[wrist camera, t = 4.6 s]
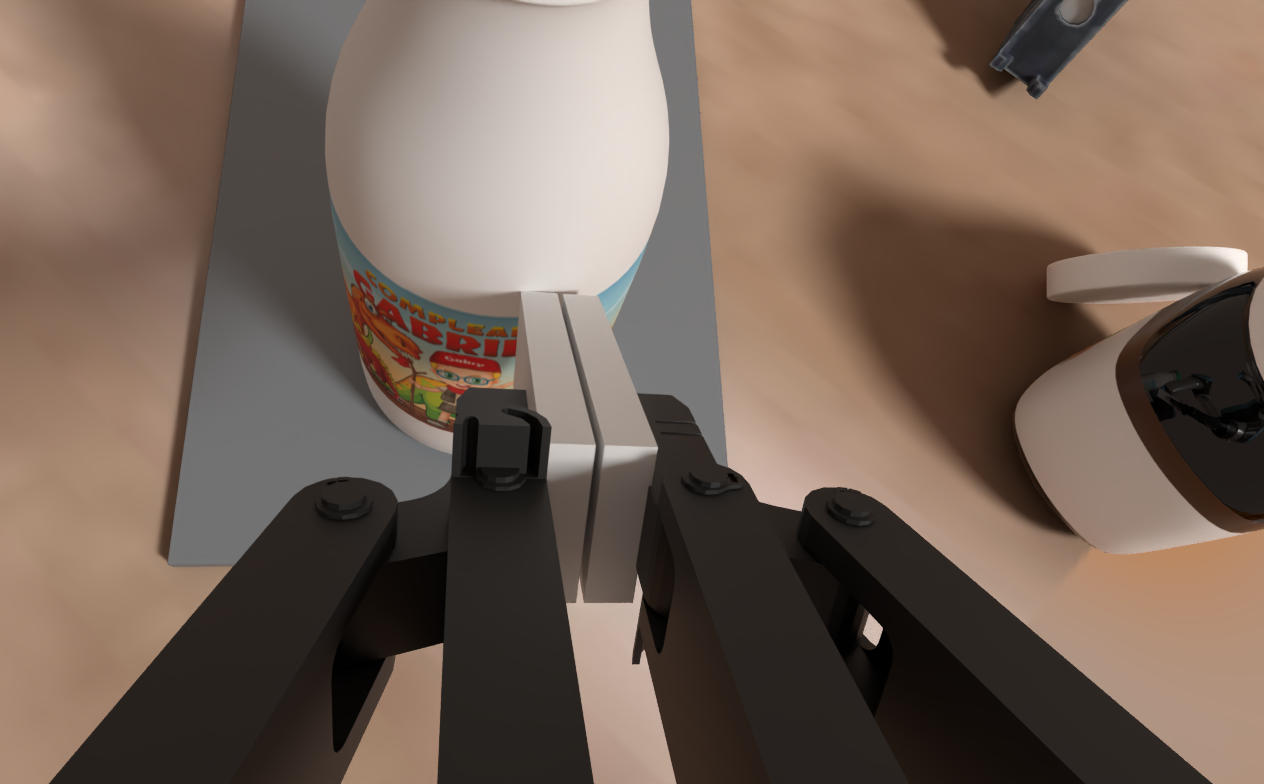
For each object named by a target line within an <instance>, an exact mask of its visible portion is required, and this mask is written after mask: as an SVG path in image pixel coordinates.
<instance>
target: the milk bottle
mask: <svg viewBox="0 0 1264 784" xmlns="http://www.w3.org/2000/svg"><path fill="white" fill-rule="evenodd" d="M668 154H669V122H668V109H667V101H666V96H665V90H664V85H663V80H662V76H661V72H660V68H659V64H658V60H657V56H656V52H655V48H654V43H653V38H652V32H651V25H650V14H649V0H367V1H366V3H365V4H364V6H363V8H362V9H361V11H360V13H359V15H358V16H357V18H356V20H355V22H354V24H353V26H352V28H351V30H350V32H349V34H348V36H347V38H346V40H345V42H344V45H343V47H342V49H341V52H340V55H339V59H338V62H337V65H336V68H335V71H334V74H333V77H332V82H331V87H330V93H329V99H328V105H327V111H326V127H325V160H326V170H327V178H328V186H329V194H330V202H331V210H332V217H333V222H334V227H335V233H336V238H337V244H338V249H339V254H340V260H341V265H342V271H343V276H344V281H345V286H346V291H347V296H348V301H349V306H350V311H351V315H352V320H353V325H354V330H355V335H356V340H357V345H358V349H359V354H360V359H361V364H362V367H363V370H364V374H365V377H366V380H367V383H368V386H369V388H370V391H371V393H372V395H373V397H374V399H375V400H376V402H377V404H378V405H379V407H380V408H381V410H382V411H383V412H384V414H385V415H386V416H387V417H388V418H389V419H390V420H391V421H392V422H393V423H394V424H395V425H396V426H397V427H398V428H399V429H400V430H402V431H403V432H404V433H406V434H407V435H408V436H410V437H411V438H413V439H415V440H416V441H418V442H420V443H422V444H424V445H426V446H428V447H430V448H433V449H436V450H439V451H441V452H445V453H449V454H452V446H453V424H454V422H455V417H456V400H457V398H458V397H460V396H461V395H462V394H463V393H464V392H465V391H466V390H467V389H468V388H469V387H478V388H498V389H513V383H514V370H515V357H516V345H517V332H518V319H519V306H520V293H521V291H532V292H546V293H557V295H558V299H559V303H560V307H561V308H562V298H563V294H574V295H587V296H599V299H600V301H601V304H602V306H603V309H604V311H605V314H606V316H607V319H608V321H609V324H610V327H611V329H612V327H613V325H614V322H615V320H616V318H617V316H618V313H619V311H620V309H621V306H622V304H623V302H624V299H625V297H626V295H627V292H628V290H629V288H630V285H631V283H632V281H633V278H634V276H635V274H636V271H637V269H638V267H639V264H640V262H641V259H642V256H643V254H644V251H645V248H646V245H647V243H648V240H649V237H650V234H651V232H652V229H653V226H654V223H655V221H656V218H657V215H658V212H659V208H660V204H661V199H662V195H663V190H664V185H665V180H666V176H667V167H668Z"/></svg>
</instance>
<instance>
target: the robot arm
mask: <svg viewBox="0 0 1264 784" xmlns="http://www.w3.org/2000/svg"><path fill="white" fill-rule="evenodd" d="M637 573H638V577H639V580H640V584H641V588H642V591H643V595H642V601H641V607H640V613H639V619H638V625H637V631H636V637H635V643H634V649H633V657H632V664H640V658H641V652H642V651H643V650H644V649H645V652H646V657H647V661H648V665H649V669H650V674H651V678H652V682H653V686H654V690H655V695H656V699H657V703H658V707H659V711H660V716H661V720H662V724H663V728H664V733H665V737H666V741H667V745H668V749H669V754H670V758H671V762H672V766H673V771H674V775H675V779H676V783H677V784H1212V783H1211V782H1210V781H1208V779H1206V778H1205V777H1204V776H1203V775H1202V774H1200V773H1199V772H1198V771H1197V770H1196V769H1195V768H1193V767H1192V766H1191V765H1190V764H1189V763H1188V762H1186V761H1185V760H1184V759H1183V758H1182V757H1180V756H1179V755H1178V754H1177V753H1176V752H1175V751H1173V750H1172V749H1171V748H1170V747H1169V746H1167V745H1166V744H1165V743H1164V742H1163V741H1162V740H1160V739H1159V738H1158V737H1157V736H1156V735H1154V734H1153V733H1152V732H1151V731H1150V730H1149V729H1148V728H1146V727H1145V726H1144V725H1143V724H1142V723H1140V722H1139V721H1138V720H1137V719H1136V718H1135V717H1133V716H1132V715H1131V714H1130V713H1129V712H1128V711H1126V710H1125V709H1124V708H1123V707H1122V706H1120V705H1119V704H1118V703H1117V702H1116V701H1115V700H1113V699H1112V698H1111V697H1110V696H1109V695H1108V694H1106V693H1105V692H1104V691H1103V690H1102V689H1100V688H1099V687H1098V686H1097V685H1096V684H1095V683H1093V682H1092V681H1091V680H1090V679H1089V678H1087V677H1086V676H1085V675H1084V674H1083V673H1082V672H1080V671H1079V670H1078V669H1077V668H1076V667H1075V666H1073V665H1072V664H1071V663H1070V662H1069V661H1067V660H1066V659H1065V658H1064V657H1063V656H1062V655H1060V654H1059V653H1058V652H1057V651H1056V650H1055V649H1053V648H1052V647H1051V646H1050V645H1049V644H1047V643H1046V642H1045V641H1044V640H1043V639H1042V638H1040V637H1039V636H1038V635H1037V634H1035V632H1033V631H1032V630H1031V629H1030V628H1029V627H1028V626H1026V625H1025V624H1024V623H1023V622H1022V621H1020V620H1019V619H1018V618H1017V617H1016V616H1015V615H1013V614H1012V613H1011V612H1010V611H1009V610H1008V609H1006V608H1005V607H1004V606H1003V605H1002V604H1000V603H999V602H998V601H997V600H996V599H995V598H993V597H992V596H991V595H990V594H989V593H988V592H986V591H985V590H984V589H983V588H982V587H980V586H979V585H978V584H977V583H976V582H975V581H973V580H972V579H971V578H970V577H969V576H968V575H966V574H965V573H964V572H963V571H962V570H960V569H959V568H958V567H957V566H956V565H955V564H953V563H952V562H951V561H950V560H949V559H948V558H946V557H945V556H944V555H943V554H942V553H940V552H939V551H938V550H937V549H936V548H935V547H933V546H932V545H931V544H930V543H929V542H928V541H926V540H925V539H924V538H923V537H922V536H920V535H919V534H918V533H917V532H916V531H915V530H913V529H912V528H911V527H910V526H909V525H908V524H906V523H905V522H904V521H903V520H902V519H900V518H899V517H898V516H897V515H896V514H895V513H893V512H892V511H891V510H890V509H889V508H888V507H886V506H885V505H883V504H882V503H880V502H879V501H877V500H876V499H874V498H872V497H870V496H867V495H865V494H862V493H861V492H860V491H857V490H853V489H847V488H843V487H837V488H825V487H824V488H820V489H817V490H813V491H811V492H810V493H809V494H808V495H807V496H806V497H805V500H804V504H803V508H802V512H801V511H796V510H791V509H787V508H782V507H777V506H772V505H769V504H765V503H761V502H759V501H758V499H757V498H756V496H755V494H754V492H753V490H752V488H751V486H750V484H749V483H748V482H747V481H746V480H745V479H744V478H743V476H742V475H740V474H739V473H737V472H735V471H733V470H732V469H730V468H728V467H725V466H722V465H719V464H717V463H716V461H715V459H714V457H713V455H712V453H711V451H710V449H709V447H708V445H707V443H706V441H705V439H704V437H703V436H702V433H701V431H700V429H699V427H698V425H696V421H695V419H694V417H693V415H692V413H691V411H690V409H689V408H688V407H687V406H686V405H684V404H683V403H682V402H680V401H679V400H678V399H676V398H675V397H674V396H672V395H663V394H643V393H636V390H635V388H634V385H633V382H632V380H631V377H630V375H629V372H628V370H627V367H626V365H625V362H624V360H623V357H622V354H621V352H620V349H619V347H618V344H617V342H616V339H615V337H614V334H613V332H612V329H611V327H610V324H609V321H608V319H607V316H606V314H605V311H604V309H603V306H602V304H601V301H600V299H599V296H587V295H574V294H563V298H562V308H561V307H560V303H559V299H558V295H557V293H546V292H532V291H521V293H520V306H519V319H518V332H517V345H516V357H515V370H514V383H513V389H498V388H478V387H469V388H468V389H467V390H466V391H465V392H464V393H463V394H462V395H461V396H460V397H458V398H457V400H456V417H455V422H454V424H453V446H452V468H451V477H450V479H449V481H448V482H447V483H446V484H445V485H444V486H443V487H442V488H440V489H439V490H437V491H436V492H434V493H432V494H429V495H427V496H424V497H421V498H417V499H413V500H408V501H402V502H398V500H397V498H396V496H395V494H394V492H393V491H392V490H391V489H390V488H388V487H386V486H385V485H383V484H382V483H380V482H376V481H373V480H369V479H365V478H354V477H337V478H330V479H325V480H322V481H319V482H316V483H314V484H311V485H308V486H306V487H304V488H303V489H302V490H300V491H299V492H298V493H296V494H295V495H294V496H293V497H292V498H291V499H290V500H289V501H288V502H287V504H286V505H285V506H284V507H283V508H282V510H281V511H280V512H279V513H278V514H277V515H276V517H275V518H274V519H273V520H272V521H271V523H270V524H269V525H268V526H267V527H266V528H265V530H264V531H263V532H262V533H261V534H260V535H259V537H258V538H257V539H256V540H255V541H254V543H253V544H252V545H251V546H250V547H249V548H248V550H247V551H246V552H245V553H244V554H243V556H242V557H241V558H240V559H239V560H238V561H237V563H236V564H235V565H234V566H233V567H232V568H231V570H230V571H229V572H228V573H227V574H226V576H225V577H224V578H223V579H222V580H221V581H220V583H219V584H218V585H217V586H216V587H215V589H214V590H213V591H212V592H211V593H210V594H209V596H208V597H207V598H206V599H205V600H204V601H203V603H202V604H201V605H200V606H199V607H198V609H197V610H196V611H195V612H194V613H193V614H192V616H191V617H190V618H189V619H188V620H187V622H186V623H185V624H184V625H183V626H182V627H181V629H180V630H179V631H178V632H177V633H176V634H175V636H174V637H173V638H172V639H171V640H170V642H169V643H168V644H167V645H166V646H165V647H164V649H163V650H162V651H161V652H160V653H159V655H158V656H157V657H156V658H155V659H154V660H153V662H152V663H151V664H150V665H149V666H148V667H147V669H146V670H145V671H144V672H143V673H142V675H141V676H140V677H139V678H138V679H137V680H136V682H135V683H134V684H133V685H132V686H131V688H130V689H129V690H128V691H127V692H126V693H125V695H124V696H123V697H122V698H121V699H120V700H119V702H118V703H117V704H116V705H115V706H114V708H113V709H112V710H111V711H110V712H109V713H108V715H107V716H106V717H105V718H104V719H103V721H102V722H101V723H100V724H99V725H98V726H97V728H96V729H95V730H94V731H93V732H92V734H91V735H90V736H89V737H88V738H87V739H86V741H85V742H84V743H83V744H82V745H81V746H80V748H79V749H78V750H77V751H76V752H75V754H74V755H73V756H72V757H71V758H70V759H69V761H68V762H67V763H66V764H65V765H64V767H63V768H62V769H61V770H60V771H59V772H58V774H57V775H56V776H55V777H54V778H53V779H52V781H51V782H50V783H49V784H341V782H342V780H343V777H344V775H345V773H346V771H347V769H348V767H349V764H350V762H351V760H352V758H353V756H354V754H355V751H356V749H357V747H358V745H359V743H360V741H361V738H362V736H363V734H364V732H365V730H366V728H367V725H368V723H369V721H370V719H371V717H372V715H373V712H374V710H375V708H376V706H377V704H378V702H379V700H380V697H381V695H382V693H383V691H384V689H385V687H386V684H387V682H388V680H389V678H390V676H391V674H392V671H393V668H394V662H395V655H397V654H401V653H405V652H409V651H413V650H417V649H421V648H425V647H429V646H433V645H436V644H440V643H443V666H442V689H441V711H440V734H439V757H438V779H437V784H594V782H593V775H592V769H591V762H590V756H589V749H588V743H587V736H586V730H585V723H584V717H583V711H582V704H581V698H580V691H579V685H578V678H577V672H576V665H575V659H574V652H573V646H572V640H571V633H570V627H569V620H568V614H567V607H566V603H576V598H577V590H578V582H579V576H580V582H581V588H582V594H583V600H584V603H633V598H634V592H635V586H636V580H637ZM869 613H870V614H871V615H872V616H873V618H874V619H875V620H876V621H877V622H878V623H879V624H880V625H881V626H882V627H883V631H882V634H881V637H880V640H879V643H878V644H877V646H875V645H874V644H872V643H871V642H870V641H869V640H868V639H867V638H866V637H865V636H864V634H863V631H864V628H865V625H866V621H867V618H868V615H869Z"/></svg>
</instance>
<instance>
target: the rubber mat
mask: <svg viewBox="0 0 1264 784" xmlns="http://www.w3.org/2000/svg"><path fill="white" fill-rule="evenodd" d="M366 1H367V0H245V7H244V14H243V21H242V29H241V36H240V43H239V50H238V58H237V65H236V72H235V79H234V87H233V94H232V101H231V108H230V116H229V123H228V130H227V137H226V145H225V152H224V159H223V166H222V174H221V181H220V188H219V195H218V202H217V210H216V217H215V224H214V231H213V239H212V246H211V253H210V260H209V268H208V275H207V282H206V289H205V297H204V304H203V311H202V318H201V326H200V333H199V340H198V347H197V354H196V362H195V369H194V376H193V383H192V391H191V398H190V405H189V412H188V420H187V427H186V434H185V441H184V449H183V456H182V463H181V470H180V478H179V485H178V492H177V499H176V507H175V514H174V521H173V528H172V535H171V543H170V550H169V557H168V565H170V566H173V567H197V566H234V565H235V564H236V563H237V561H238V560H239V559H240V558H241V557H242V556H243V554H244V553H245V552H246V551H247V550H248V548H249V547H250V546H251V545H252V544H253V543H254V541H255V540H256V539H257V538H258V537H259V535H260V534H261V533H262V532H263V531H264V530H265V528H266V527H267V526H268V525H269V524H270V523H271V521H272V520H273V519H274V518H275V517H276V515H277V514H278V513H279V512H280V511H281V510H282V508H283V507H284V506H285V505H286V504H287V502H288V501H289V500H290V499H291V498H292V497H293V496H294V495H295V494H296V493H298V492H299V491H300V490H302V489H303V488H304V487H306V486H308V485H311V484H314V483H316V482H319V481H322V480H325V479H330V478H337V477H354V478H365V479H369V480H373V481H376V482H380V483H382V484H383V485H385V486H386V487H388V488H390V489H391V490H392V491H393V492H394V494H395V496H396V498H397V500H398V502H402V501H408V500H413V499H417V498H421V497H424V496H427V495H429V494H432V493H434V492H436V491H437V490H439V489H440V488H442V487H443V486H444V485H445V484H446V483H447V482H448V481H449V479H450V477H451V468H452V454H449V453H445V452H441V451H439V450H436V449H433V448H430V447H428V446H426V445H424V444H422V443H420V442H418V441H416V440H415V439H413V438H411V437H410V436H408V435H407V434H406V433H404V432H403V431H402V430H400V429H399V428H398V427H397V426H396V425H395V424H394V423H393V422H392V421H391V420H390V419H389V418H388V417H387V416H386V415H385V414H384V412H383V411H382V410H381V408H380V407H379V405H378V404H377V402H376V400H375V399H374V397H373V395H372V393H371V391H370V388H369V386H368V383H367V380H366V377H365V374H364V370H363V367H362V364H361V359H360V354H359V349H358V345H357V340H356V335H355V330H354V325H353V320H352V315H351V311H350V306H349V301H348V296H347V291H346V286H345V281H344V276H343V271H342V265H341V260H340V254H339V249H338V244H337V238H336V233H335V227H334V222H333V217H332V210H331V202H330V194H329V186H328V178H327V170H326V160H325V127H326V111H327V105H328V99H329V93H330V87H331V82H332V77H333V74H334V71H335V68H336V65H337V62H338V59H339V55H340V52H341V49H342V47H343V45H344V42H345V40H346V38H347V36H348V34H349V32H350V30H351V28H352V26H353V24H354V22H355V20H356V18H357V16H358V15H359V13H360V11H361V9H362V8H363V6H364V4H365V3H366ZM649 14H650V25H651V32H652V38H653V43H654V48H655V52H656V56H657V60H658V64H659V68H660V72H661V76H662V80H663V85H664V90H665V96H666V101H667V109H668V122H669V154H668V167H667V176H666V180H665V185H664V190H663V195H662V199H661V204H660V208H659V212H658V215H657V218H656V221H655V223H654V226H653V229H652V232H651V234H650V237H649V240H648V243H647V245H646V248H645V251H644V254H643V256H642V259H641V262H640V264H639V267H638V269H637V271H636V274H635V276H634V278H633V281H632V283H631V285H630V288H629V290H628V292H627V295H626V297H625V299H624V302H623V304H622V306H621V309H620V311H619V313H618V316H617V318H616V320H615V322H614V325H613V327H612V332H613V334H614V337H615V339H616V342H617V344H618V347H619V349H620V352H621V354H622V357H623V360H624V362H625V365H626V367H627V370H628V372H629V375H630V377H631V380H632V382H633V385H634V388H635V390H636V393H643V394H663V395H672V396H674V397H675V398H676V399H678V400H679V401H680V402H682V403H683V404H684V405H686V406H687V407H688V408H689V409H690V411H691V413H692V415H693V417H694V419H695V421H696V425H698V427H699V429H700V431H701V433H702V436H703V437H704V439H705V441H706V443H707V445H708V447H709V449H710V451H711V453H712V455H713V457H714V459H715V461H716V463H717V464H719V465H722V466H725V467H728V464H727V451H726V438H725V426H724V413H723V400H722V388H721V375H720V362H719V350H718V337H717V324H716V312H715V299H714V286H713V273H712V261H711V248H710V235H709V223H708V210H707V197H706V185H705V172H704V159H703V147H702V134H701V121H700V109H699V96H698V83H697V71H696V58H695V45H694V33H693V20H692V7H691V0H649Z"/></svg>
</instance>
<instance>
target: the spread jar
mask: <svg viewBox="0 0 1264 784" xmlns="http://www.w3.org/2000/svg"><path fill="white" fill-rule="evenodd" d="M1047 298H1048V299H1049V300H1051V301H1056V302H1064V303H1086V304H1110V303H1142V302H1160V301H1174V300H1179V301H1177V302H1175V303H1173V304H1171V305H1169V306H1167V307H1165V308H1163V309H1161V310H1159V311H1157V312H1156V313H1154V314H1152V315H1150V316H1148V317H1146V318H1144V319H1142V320H1140V321H1138V322H1136V323H1134V324H1132V325H1131V326H1129V327H1127V328H1125V329H1123V330H1121V331H1119V332H1117V333H1115V334H1113V335H1111V336H1109V337H1107V338H1105V339H1103V340H1101V341H1099V342H1097V343H1095V344H1093V345H1091V346H1089V347H1087V348H1086V349H1084V350H1082V351H1080V352H1078V353H1076V354H1074V355H1072V356H1071V357H1069V358H1067V359H1065V360H1064V361H1062V362H1060V363H1059V364H1057V365H1055V366H1054V367H1052V368H1051V369H1049V370H1048V371H1047V372H1045V373H1044V374H1043V375H1042V376H1040V377H1039V378H1038V379H1037V380H1036V381H1034V382H1033V383H1032V384H1031V385H1030V386H1029V387H1028V388H1027V389H1026V391H1025V392H1024V393H1023V394H1022V395H1021V397H1020V398H1019V400H1018V402H1017V404H1016V406H1015V408H1014V412H1013V417H1012V420H1013V431H1014V437H1015V441H1016V445H1017V448H1018V451H1019V454H1020V457H1021V459H1022V462H1023V464H1024V466H1025V469H1026V471H1027V473H1028V475H1029V477H1030V478H1031V480H1032V482H1033V484H1034V486H1035V487H1036V489H1037V490H1038V492H1039V493H1040V495H1041V496H1042V498H1043V499H1044V501H1045V502H1046V503H1047V504H1048V506H1049V507H1050V508H1051V509H1052V510H1053V512H1054V513H1055V514H1056V515H1057V516H1058V517H1059V518H1060V519H1061V520H1062V521H1063V522H1064V523H1065V524H1066V525H1067V526H1068V527H1069V528H1070V529H1071V530H1072V531H1073V532H1074V533H1075V534H1076V535H1077V536H1078V537H1079V538H1081V539H1082V540H1083V541H1085V542H1086V543H1088V544H1089V545H1091V546H1093V547H1095V548H1097V549H1099V550H1101V551H1103V552H1105V553H1113V554H1134V553H1143V552H1149V551H1156V550H1162V549H1167V548H1173V547H1178V546H1184V545H1189V544H1195V543H1201V542H1206V541H1211V540H1216V539H1221V538H1226V537H1231V536H1236V535H1240V534H1245V533H1249V532H1253V531H1257V530H1261V529H1264V267H1262V268H1257V269H1253V270H1249V271H1247V253H1246V252H1245V251H1243V250H1240V249H1234V248H1226V247H1163V248H1146V249H1133V250H1123V251H1113V252H1105V253H1097V254H1090V255H1084V256H1078V257H1073V258H1069V259H1064V260H1060V261H1057V262H1054V263H1052V264H1050V265H1048V267H1047Z"/></svg>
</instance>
